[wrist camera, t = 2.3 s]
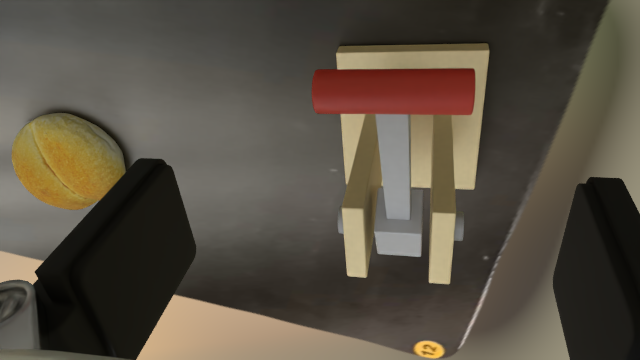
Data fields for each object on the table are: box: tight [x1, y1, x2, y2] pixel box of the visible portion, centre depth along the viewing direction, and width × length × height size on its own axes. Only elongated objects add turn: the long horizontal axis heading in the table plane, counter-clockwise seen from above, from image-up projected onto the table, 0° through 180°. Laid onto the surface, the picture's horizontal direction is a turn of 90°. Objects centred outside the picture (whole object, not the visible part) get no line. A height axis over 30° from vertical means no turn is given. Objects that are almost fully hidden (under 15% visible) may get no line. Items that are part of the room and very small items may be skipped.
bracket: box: [336, 43, 490, 284], centre depth 28 cm, size 10×9×13 cm
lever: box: [312, 68, 476, 257], centre depth 20 cm, size 12×5×2 cm, turn 6°
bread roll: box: [12, 113, 126, 210], centre depth 39 cm, size 8×9×4 cm
